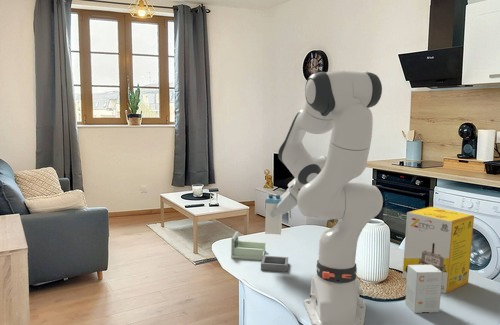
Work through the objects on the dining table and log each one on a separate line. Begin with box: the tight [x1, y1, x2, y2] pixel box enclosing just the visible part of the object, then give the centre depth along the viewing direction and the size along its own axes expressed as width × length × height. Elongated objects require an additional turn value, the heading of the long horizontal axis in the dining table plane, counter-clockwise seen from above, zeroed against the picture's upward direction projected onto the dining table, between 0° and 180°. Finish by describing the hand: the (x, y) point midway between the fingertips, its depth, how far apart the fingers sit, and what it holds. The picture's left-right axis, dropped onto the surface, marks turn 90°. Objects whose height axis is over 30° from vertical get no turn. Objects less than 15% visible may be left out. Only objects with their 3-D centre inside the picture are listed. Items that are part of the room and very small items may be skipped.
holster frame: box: [260, 255, 289, 273], centre depth 158 cm, size 9×10×2 cm
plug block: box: [264, 194, 283, 236], centre depth 157 cm, size 5×6×15 cm
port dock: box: [230, 230, 266, 261], centre depth 171 cm, size 12×13×8 cm
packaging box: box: [402, 206, 475, 294], centre depth 147 cm, size 16×16×25 cm
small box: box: [404, 265, 442, 314], centre depth 126 cm, size 8×6×13 cm
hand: (272, 213), depth 158 cm, fingers closed on plug block, 5 cm apart
